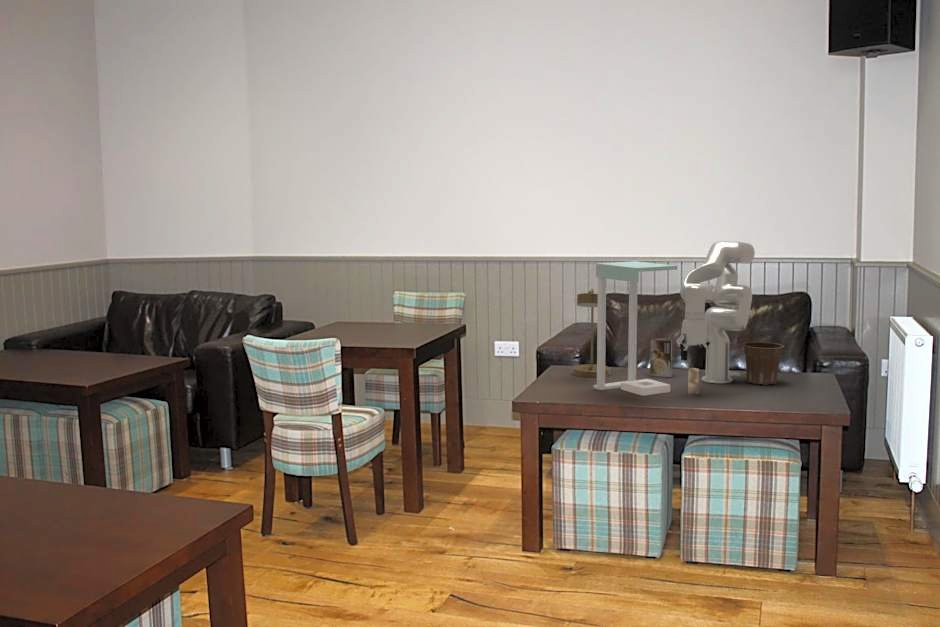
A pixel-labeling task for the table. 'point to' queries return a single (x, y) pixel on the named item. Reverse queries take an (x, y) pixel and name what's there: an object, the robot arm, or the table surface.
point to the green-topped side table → (631, 274)
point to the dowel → (693, 381)
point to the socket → (645, 387)
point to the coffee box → (661, 357)
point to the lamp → (591, 369)
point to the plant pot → (762, 362)
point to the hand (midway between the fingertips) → (693, 359)
